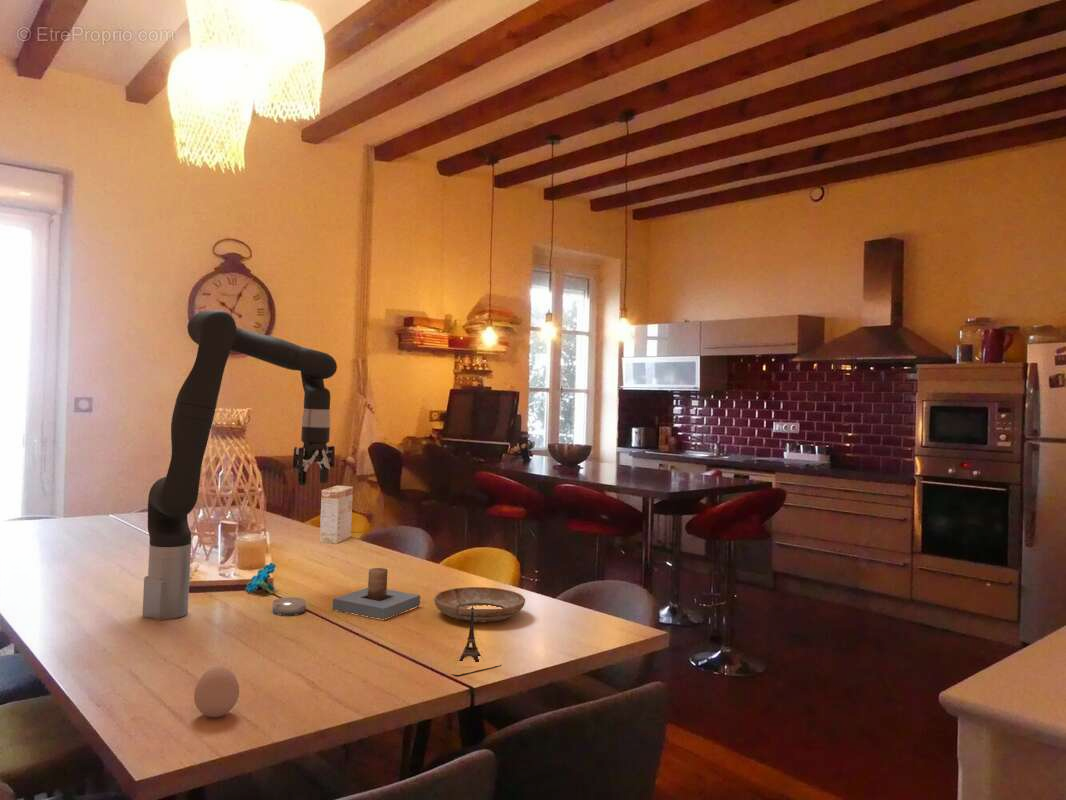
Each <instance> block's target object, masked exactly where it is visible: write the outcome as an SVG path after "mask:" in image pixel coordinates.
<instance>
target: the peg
mask: <svg viewBox="0 0 1066 800" xmlns="http://www.w3.org/2000/svg"><path fill="white" fill-rule="evenodd" d="M388 572H389V571H388V569H387V568H381V567H374V568H369V569H368V581H367V582H368V583H367V588H368V599H371V600H376V601H382V600H385V599H386V593H387V589H388Z"/></svg>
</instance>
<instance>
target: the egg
mask: <svg viewBox="0 0 1066 800" xmlns="http://www.w3.org/2000/svg"><path fill="white" fill-rule="evenodd" d="M193 693H194V694H193V699H194V700H193V701H194V704H195V708H196V709H197V710H198V711H199V712H200V713H201V714H203V715H204V716H206V717H208V718H221V717H223V716H225V715H226V714H228V713H229V712H231V710H232V709H233V708H234V707H235V705H236V704H237V702H238V699H239V697H240V685H239V681H238V679H237V677H236V675H235V674H234V672H232V670H230V669H229V668H227V667H224V666H214V667H211V668H210V669H208V670H206V671H205V672H204V673H203V674H202V676H201V677H199V680H198V682H197V684H196V686H195V688H194V692H193Z"/></svg>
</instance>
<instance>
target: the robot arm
mask: <svg viewBox="0 0 1066 800" xmlns="http://www.w3.org/2000/svg"><path fill="white" fill-rule="evenodd" d="M187 334H188V336H189V337H190V339H191V340H192V341H193V342H194V343H195V344H196V345H198V348H197V353H196V357H195V361H194V364H193V366H192V368H191V370H190V371H189V372H188V373H189V374H188V375H187V377H186V379H185V380H184V382H183V383H182V386H181V387H180V390H179V392H178V393H177V396H176V398H175V403H174V407H173V411H172V415H171V423H170V440H171V441H170V442H171V455H170V457H171V458H170V462H169V467H168V469H167V472H166V475H165V476H163V477H161V478H160V479H157V480H156V481H155V482H154V483H153V484H152V486H150V487H151V488H150V490H149V492H148V498H147V499H148V500H147V531H148V535H149V545H148V548H149V549H148V567H147V575H146V576H145V577H143V594H142V596H143V597H142V615H141V616H142V617H144V618H145V617H146V618H148V619H152V620H156V619H157V621H162V620H171V619H177V618H181V617H184V616H186V615H187V614H188V613H189V596H190V594H189V593H190V574H191V554H192V531H191V528H190V526H189V522H188V515H189V514H190V513H191V512H192V511H193V509H194V508H195V507H196V505H197V502H198V501H197V500H198V497H199V490H200V481H201V480H200V479H201V473H202V472H201V471H202V466H203V465H202V464H203V460H204V457H205V454H206V449H207V445H208V441H209V438H210V432H211V430H212V426H213V423H214V418H215V413H216V409H217V404H218V398H219V395H220V391H221V385H222V380H223V375H224V374H225V373H224V372H225V368H226V365H227V361H228V359H229V356H230V352H236V353H238V354H242V355H245V356H249V357H251V358H255V359H257V360H260V361H263V362H266V363H268V364H271V365H274V366H277V367H280V368H283V369H286V370H291V371H299V372H300V376H301V377H300V378H301V383H302V388H303V393H304V397H303V412H302V417H301V436H300V437H301V438H300V441H301V442H302V443H303V445H302V447H301V446H294V449H293V455H292V457H293V458H292V469H294V470H296V471H297V472H298V473H297V483H298V485H299V486H307V482H308V481H307V480H308V469H309V467H310V466H311V465H312V464H313V463H317V464H318V465H319V467H320V468H321V469H320V471H319V483H321V484H322V483H323V484H327V483H328V480H329V471H330V469H331V468H334V467H335V463H336V462H335V461H336V460H335V458H336V457H335V453H336V451H335V449H336V448H335V446H334V445H327V444H328V443H329V442H330V433H331V432H330V431H331V409H330V408H331V391H330V390H329V389H328V388H327V387H325V382H324V380H327V379H330V378H332V377H333V376H334V375H335V374H336V372H337V369H338V365H337V362H336V359H335V358H334V356H332V355H330V354H329V353H326V352H323V351H320V350H317V349H316V350H315V349H312V348H306V347H303V346H300V345H299V344H295V343H294V342H290V341H287V340H285V339H282V338H279V337H274V336H271V335H266V334H262V333H257V332H255V331H250V330H247V329H244V328H241V327H238V326H237V324H236V321H235V319H234V317H233V316H232V315H231V313H229V312H227V311H224V310H222V309H219V310H218V309H217V310H216V309H213V310H210V309H209V310H202V311H200V312H197V313H195V314H193V316H191V317H190V319H189V321H188V322H187Z"/></svg>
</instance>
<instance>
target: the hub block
mask: <svg viewBox="0 0 1066 800" xmlns="http://www.w3.org/2000/svg"><path fill="white" fill-rule="evenodd" d="M419 605H420V606H421V595H419V594H414V593H409V592H403V591H398V590H395V589H388V588H387V593H386V599H385V600H382V601H376V600H371V599H368V587H365V588H362V589H359V590H356V591H353V592H349V593H346V594H344V595H340V596H337V597H334V598H332V609H331V610H332V611H334V610H338V611H337V612H339V611H342V612H341V613H343V612H348V613H354V614H358V615H364V616H368V617H374V618H380V619H385V618H388V617H391V616H393V615H396V614H399V613H401V612H404V611H406V610H409V609H411V608H414V607H416V606H419ZM348 613H347V614H348ZM358 615H357V616H358ZM399 615H400V614H399ZM368 617H367V618H368Z"/></svg>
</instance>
